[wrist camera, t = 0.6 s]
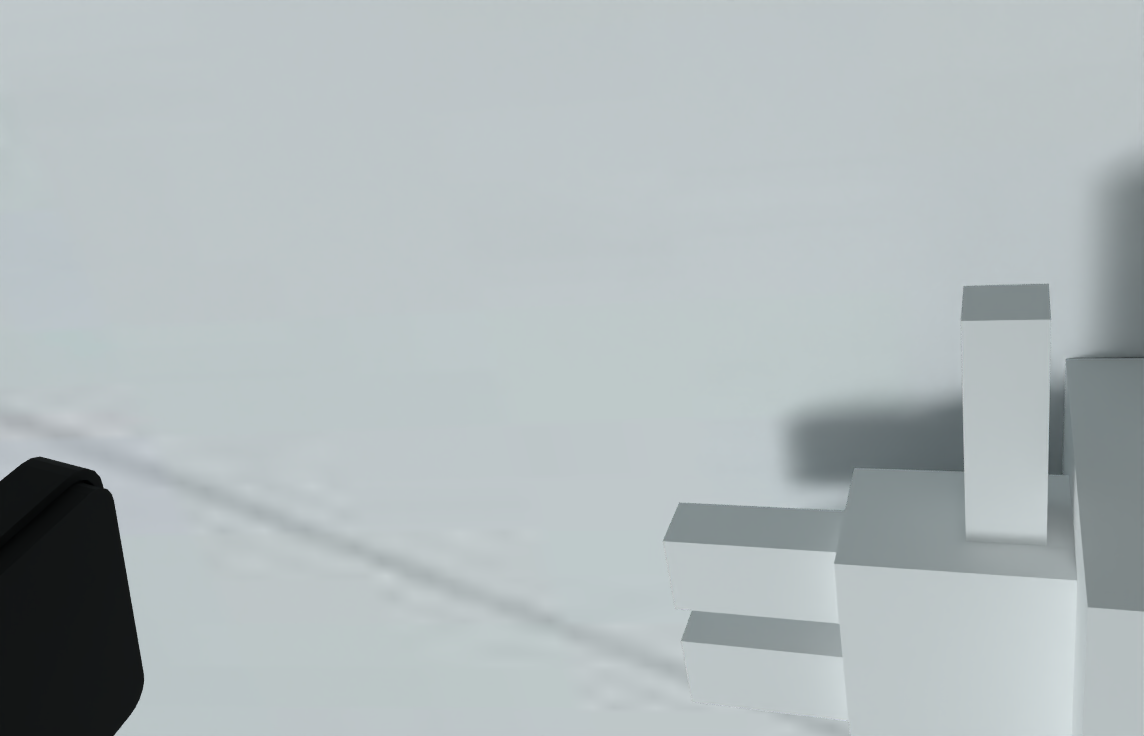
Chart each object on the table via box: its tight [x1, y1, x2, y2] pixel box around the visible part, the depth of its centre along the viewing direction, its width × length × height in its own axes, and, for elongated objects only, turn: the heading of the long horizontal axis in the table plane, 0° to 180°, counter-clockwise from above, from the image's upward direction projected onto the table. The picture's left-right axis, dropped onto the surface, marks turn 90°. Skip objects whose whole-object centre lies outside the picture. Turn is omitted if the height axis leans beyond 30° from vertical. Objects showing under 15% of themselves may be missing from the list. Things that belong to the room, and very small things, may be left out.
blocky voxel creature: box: [663, 284, 1144, 736], centre depth 35 cm, size 15×25×28 cm
